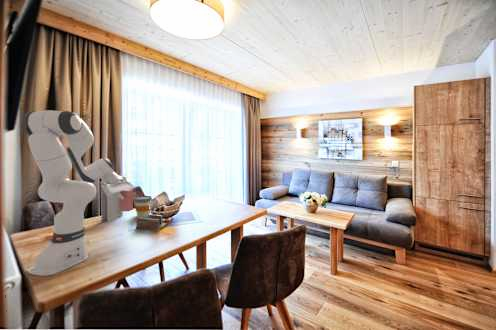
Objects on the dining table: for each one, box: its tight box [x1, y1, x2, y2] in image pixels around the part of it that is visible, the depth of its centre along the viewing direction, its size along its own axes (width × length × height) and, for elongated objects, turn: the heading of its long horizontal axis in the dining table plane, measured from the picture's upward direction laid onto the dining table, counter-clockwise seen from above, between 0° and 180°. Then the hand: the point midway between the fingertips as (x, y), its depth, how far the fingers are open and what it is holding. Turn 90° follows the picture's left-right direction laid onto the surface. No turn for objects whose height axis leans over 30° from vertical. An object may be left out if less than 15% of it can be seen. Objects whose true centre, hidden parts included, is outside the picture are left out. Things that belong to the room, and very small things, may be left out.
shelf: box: [135, 217, 168, 233], centre depth 150 cm, size 12×16×8 cm
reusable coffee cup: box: [134, 195, 153, 218], centre depth 174 cm, size 13×13×15 cm
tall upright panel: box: [100, 180, 124, 223], centre depth 165 cm, size 14×6×30 cm, turn 168°
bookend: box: [147, 213, 163, 224], centre depth 154 cm, size 1×10×6 cm, turn 80°
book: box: [120, 189, 134, 212], centre depth 138 cm, size 4×6×13 cm, turn 80°
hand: (127, 197), depth 137 cm, fingers closed on book, 4 cm apart
